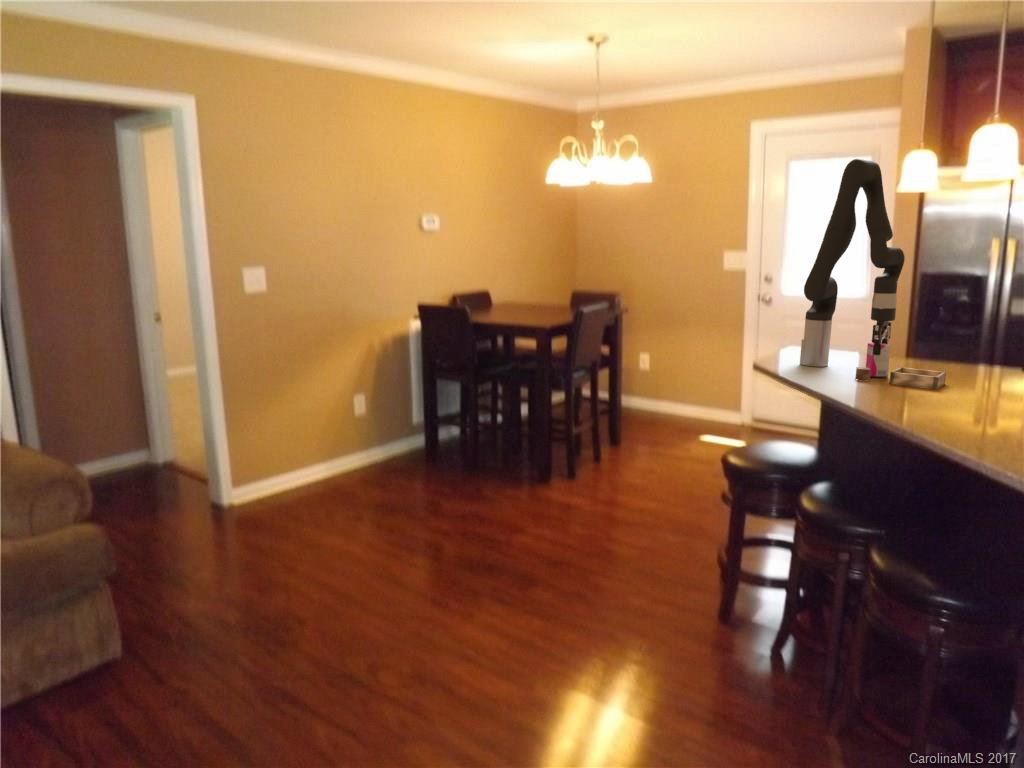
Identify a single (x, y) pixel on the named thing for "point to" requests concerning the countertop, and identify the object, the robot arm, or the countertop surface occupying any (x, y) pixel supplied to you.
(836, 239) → the robot arm
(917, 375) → the crate
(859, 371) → the walnut block
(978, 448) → the countertop surface
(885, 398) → the countertop surface
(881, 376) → the supplement box
